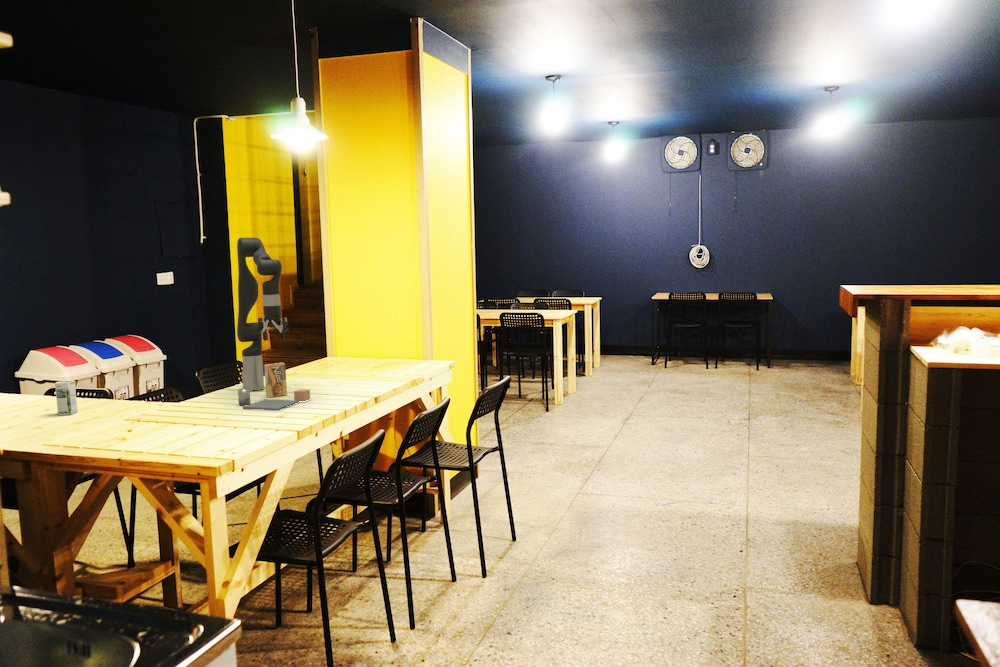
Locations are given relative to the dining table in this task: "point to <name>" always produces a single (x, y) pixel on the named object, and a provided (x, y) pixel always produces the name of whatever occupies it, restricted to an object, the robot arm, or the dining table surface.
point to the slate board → (270, 404)
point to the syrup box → (66, 397)
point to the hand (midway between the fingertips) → (274, 340)
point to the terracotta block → (302, 395)
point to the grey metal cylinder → (244, 396)
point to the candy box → (275, 379)
